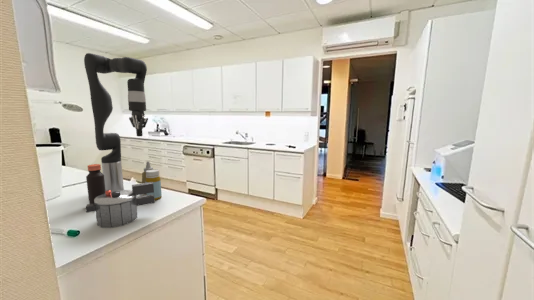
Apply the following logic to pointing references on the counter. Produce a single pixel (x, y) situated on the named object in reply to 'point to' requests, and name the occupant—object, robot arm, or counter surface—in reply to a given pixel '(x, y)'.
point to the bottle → (154, 182)
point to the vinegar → (95, 182)
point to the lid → (123, 194)
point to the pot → (118, 212)
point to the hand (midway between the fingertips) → (139, 136)
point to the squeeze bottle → (145, 171)
